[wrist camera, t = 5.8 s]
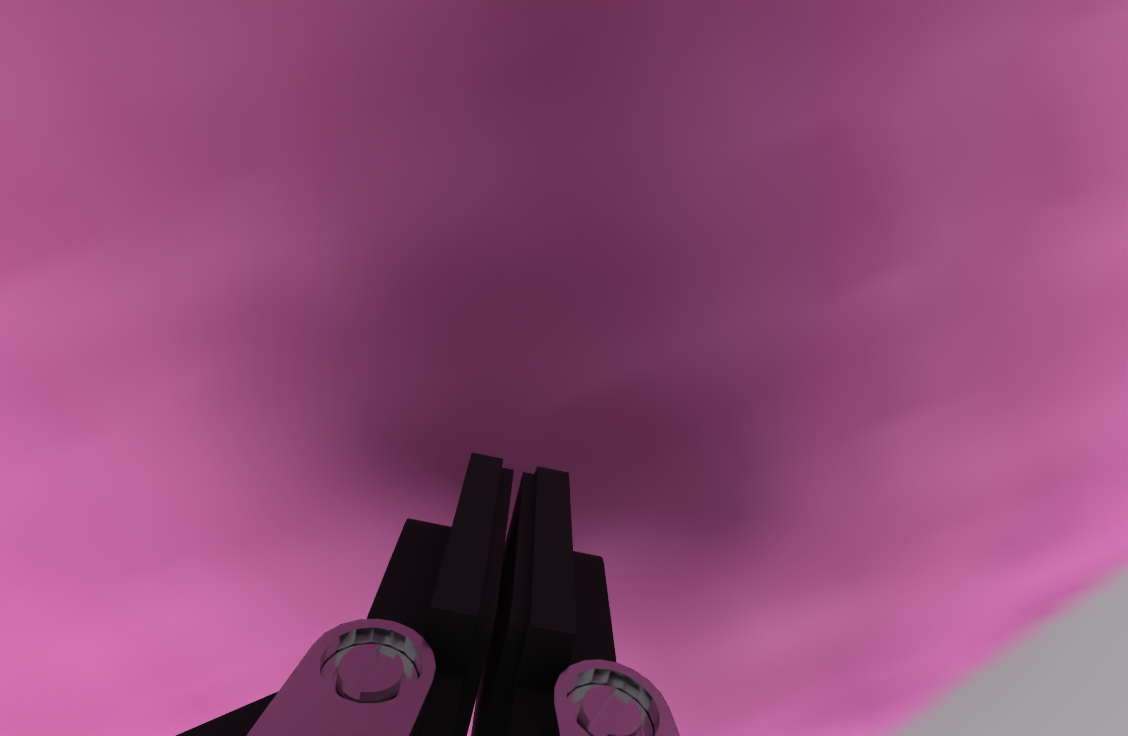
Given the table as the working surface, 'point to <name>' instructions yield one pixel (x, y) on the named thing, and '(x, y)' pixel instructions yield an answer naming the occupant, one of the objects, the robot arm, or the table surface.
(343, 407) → the table surface
